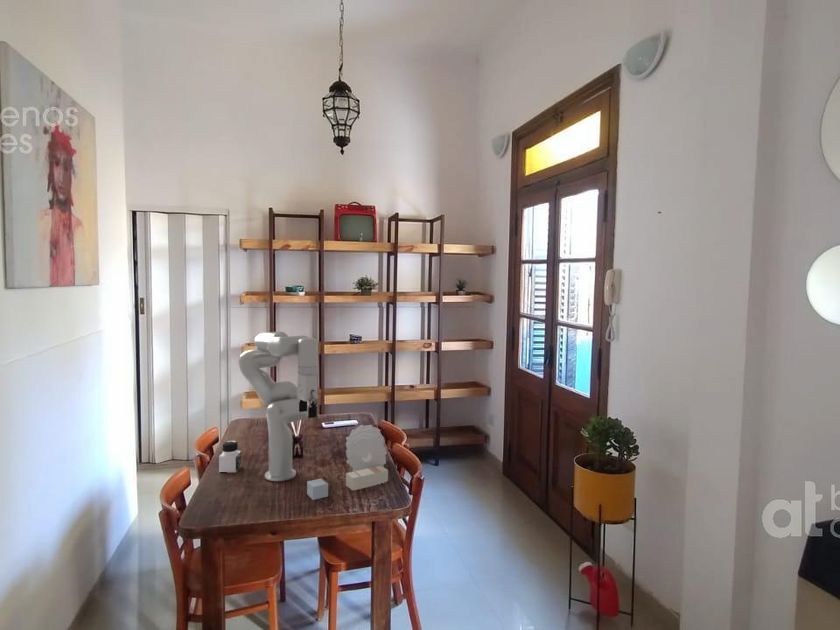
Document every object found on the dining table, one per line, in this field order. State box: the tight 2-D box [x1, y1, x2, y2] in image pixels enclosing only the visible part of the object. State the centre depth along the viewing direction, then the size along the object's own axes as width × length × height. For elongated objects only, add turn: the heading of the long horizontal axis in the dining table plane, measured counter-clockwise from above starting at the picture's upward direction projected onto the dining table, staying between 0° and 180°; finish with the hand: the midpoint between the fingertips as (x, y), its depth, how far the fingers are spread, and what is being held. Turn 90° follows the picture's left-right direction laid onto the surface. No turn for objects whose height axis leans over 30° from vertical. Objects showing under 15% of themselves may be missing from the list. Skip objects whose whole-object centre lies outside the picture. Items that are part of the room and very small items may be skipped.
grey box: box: [306, 478, 329, 501], centre depth 187 cm, size 6×6×5 cm
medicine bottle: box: [218, 440, 242, 473], centre depth 211 cm, size 7×7×12 cm
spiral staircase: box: [345, 424, 388, 472], centre depth 216 cm, size 18×18×25 cm
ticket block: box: [345, 466, 389, 491], centre depth 199 cm, size 6×16×5 cm, turn 124°
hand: (307, 414), depth 190 cm, fingers open, 9 cm apart
